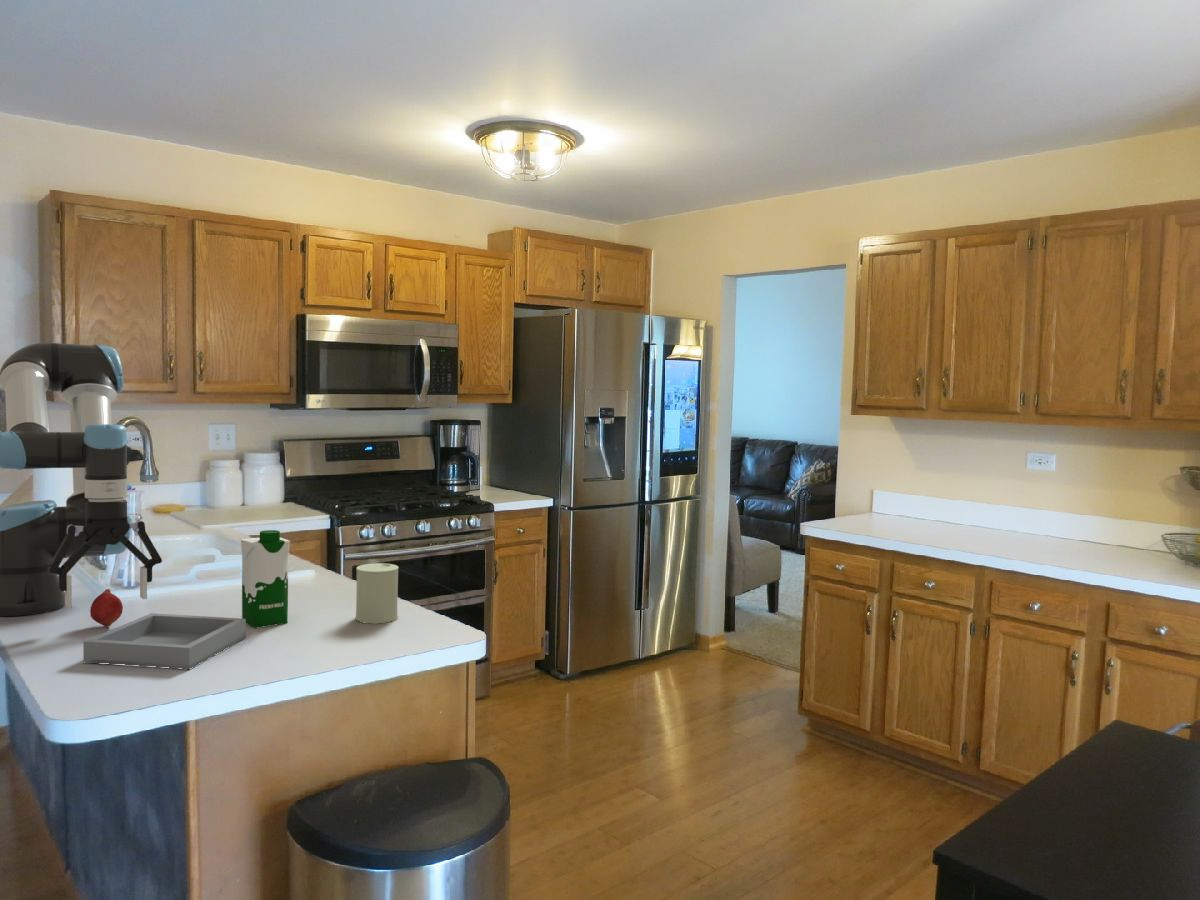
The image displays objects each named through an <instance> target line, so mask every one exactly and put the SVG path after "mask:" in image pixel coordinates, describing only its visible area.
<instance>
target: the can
mask: <svg viewBox="0 0 1200 900" xmlns="http://www.w3.org/2000/svg"><path fill="white" fill-rule="evenodd" d="M399 567H400V566H398V565H397V564H393V563H381V562H378V563H377V562H376V563H366V564H361V565H358V566H357V567H356V570H355V571H356V599H355V600H356V605H355V607H356V608H355V609H356V610H355V621H356V620H357V621H356V622H358V621H360V622H359V623H361V622H365V623H364V624H368V623H381V624H386V623H385V622H388V623H391V621H392V622H395V621H396V620H397V619H398V618H399V616H398V614H399V613H398V597H399V596H398V594H399V593H398V592H399V590H398V589H399V588H398V587H399V586H398V585H399Z"/></svg>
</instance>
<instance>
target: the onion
mask: <svg viewBox="0 0 1200 900" xmlns="http://www.w3.org/2000/svg"><path fill="white" fill-rule="evenodd" d="M123 609H124V607H123V602H122V601H121V599H120V598H119V597H118V596H116V594H114V593H112V592H111V588H106V589H105V590H104V591H103V592H102V593H100V594H99V595H97V597H95V599H94V600H93V601H92V603H91V605H90V610H89V612H90V617H91V619H92V620H93V621H95V622H96V623H97V624H99V625H102V626H103V627H105V628H108V627H111V626H112V624H114V623H115V622H116V621H117V620H118V619H119V618H120V617H121V616H122V614H123V611H124V610H123Z"/></svg>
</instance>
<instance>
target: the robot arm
mask: <svg viewBox="0 0 1200 900" xmlns="http://www.w3.org/2000/svg"><path fill="white" fill-rule="evenodd" d="M123 372H124V371H123V366H122V362H121V358H120V355H119V353H118V351H117V350H116V349H115V348H113V347H111V346H110V345H109V346H107V345H99V344H96V343H95V344H92V345H91V344H74V343H59V342H58V343H57V342H56V343H55V342H45V341H44V342H36V343H32V344H28V345H26V346H24V347H21V348H19V349H17V350H16V351H15V352H14V353H12V354H11V355H9V356H8V358H7V359H6V360H5V361H4V362H3V364H2V365H1V367H0V387H1V389H2V390H3V391H4V392H5V416H6V418H5V419H6V421H5V422H6V431H4V432H0V469H9V470H11V469H12V470H18V471H19V470H20V471H21V470H30V469H35V470H36V469H67V468H68V469H72V485H73V486H72V487H73V489H72V490H73V492H72V494H71V495H69V496H68V497H67V498H66V501H65V502H66V505H65V506H58V505H57V503H56V501H55V500H52V499H47V500H45V499H44V500H33V501H26V502H20V503H15V504H9V505H7V506H3V507H0V617H16V616H19V617H20V616H27V615H29V616H30V615H36V614H42V613H48V612H51V611H52V612H53V611H56V610H58V609H61V608H64V607H66V608H67V609H71V608H72V604H73V603H72V599H73V597H72V594H73V593H72V586H73V585H72V574H71V573H69V572H70V571H71V570H72V568H74V566H75V565H76V564H77V563H78V562H79V561H80V560H81V558H86V557H88V558H89V557H101V556H103V557H106V556H110V555H119V554H123V553H124V552H126V550H128V551H130V553H132V555H134V556H135V558H137V559H138V560H139V561H140V562H141V563H142V564H143V565H142V566H140V567H139V597H140V598H141V599H142V600H147V599H148V583H151V582H153V567H154V566H155V565H158V564H161V563H162V562H163V559H162V557H161V555H160V554H159V552H158V551H157V550H158V549H156V546H155V545H154V543H153V541H152V540H151V538H150V537H149V535H148V533H147V531H146V525H145V522H144V521H143V520H140V519H138V520H136V521H133V518H132V519H131V518H130V517H129V516H127V503H128V501H127V500H126V498H127V497H128V481H127V480H128V474H127V473H128V472H127V470H128V469H127V468H128V467H127V464H128V462H127V460H128V453H127V452H128V443H129V440H128V437H127V427H126V426H125V425H123V424H116V423H115V424H113V421H112V420H113V419H112V406H111V405H112V403H113V402H114V401H116V400H117V397H118V394H120V393H121V392H123V391H124V376H123ZM46 392H60V393H61V398H62V401H64V402H66V403H67V404H69V420H70V422H69V423H70V431H69V432H68V431H66V432H64V431H62V432H61V431H57V432H56V431H55V432H54V431H52V432H51V431H50V425H49V415H48V414H49V413H48V405H47V404H48V403H47V393H46ZM132 521H133V522H132ZM131 529H132V530H133V531H134V532H135V533H137V535H138V537H139V538H140V540H141V542H142V544H143V545H144V546H145V549H146V550H147V552H148V554H149V556H150V557H151V558H148V557H147V556H146V555H145V554H144V553H143V552H142V551H141V550H140V549H139V548H137V546H135V544H133V542H132V541H130V537H131V531H132V530H131ZM64 559H66V560H65V562H63V564H62V565H61V563H62V561H64ZM60 565H61V566H60Z"/></svg>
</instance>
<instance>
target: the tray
mask: <svg viewBox="0 0 1200 900" xmlns="http://www.w3.org/2000/svg"><path fill="white" fill-rule="evenodd" d="M246 629H247V623H246V619H242V617H241V618H238V617H224V616H223V617H221V616H206V615H205V616H204V615H203V616H201V615H189V614H187V615H186V614H171V613H156V612H155V613H153V612H151V613H148V614H147V615H144V616H141V617H139V618H137V619H134V620H132V621H130V622H126V623H125V624H122V625H119V626H117V627H114V628H112V629H110V630H107V631H105V632H103V633H100V634H97V635H95V636H92V637H91V638H88V639H85V640H84V641H83V650H82V651H83V663H84V662H85V663H84V664H88V663H109V664H125V665H139V666H156V667H169V668H182V669H190V668H192V667H194V666H196V665H198V664H199V663H201V662H203V661H205V660H206V661H208V660H209V659H208V658H210V657H212V656H213V657H215V656H216V655H215V654H217V653H219V652H221V651H222V652H224V651H225V650H224V649H226V648H228V647H229V648H231V647H233V646H234V644H235V643H237V642H238V643H240V642H242V641H243V639H244V638H245V639H247V638H246V637H247V635H246V634H247V632H246V631H247V630H246ZM245 639H244V640H245ZM241 640H242V641H241ZM239 641H240V642H239ZM238 643H237V644H238ZM232 645H233V646H232ZM235 645H236V644H235ZM230 646H231V647H230ZM229 648H228V649H229ZM223 650H224V651H223ZM226 650H227V649H226ZM222 652H221V653H222ZM219 654H220V653H219ZM214 655H215V656H214ZM217 655H218V654H217ZM213 657H212V658H213ZM207 659H208V660H207ZM210 659H211V658H210ZM206 661H205V662H206ZM203 663H204V662H203ZM201 664H202V663H201ZM199 665H200V664H199ZM199 665H198V666H199ZM196 667H197V666H196ZM194 668H195V667H194ZM192 669H193V668H192ZM190 670H191V669H190Z"/></svg>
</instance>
